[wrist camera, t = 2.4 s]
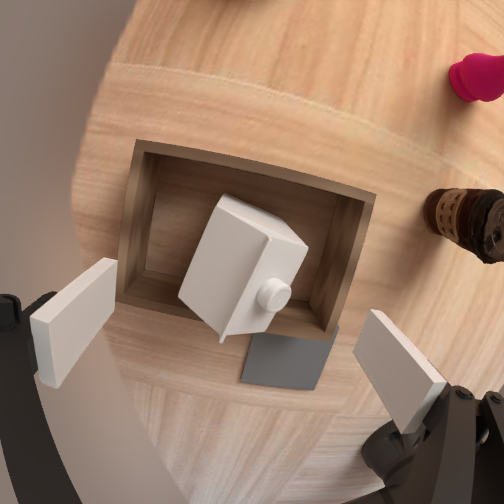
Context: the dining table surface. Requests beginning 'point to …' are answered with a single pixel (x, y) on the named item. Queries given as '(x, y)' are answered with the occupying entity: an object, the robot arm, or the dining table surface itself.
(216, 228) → the milk carton
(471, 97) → the pepper mill
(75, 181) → the dining table surface
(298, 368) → the coaster
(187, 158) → the crate
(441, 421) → the robot arm
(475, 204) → the coffee cup
